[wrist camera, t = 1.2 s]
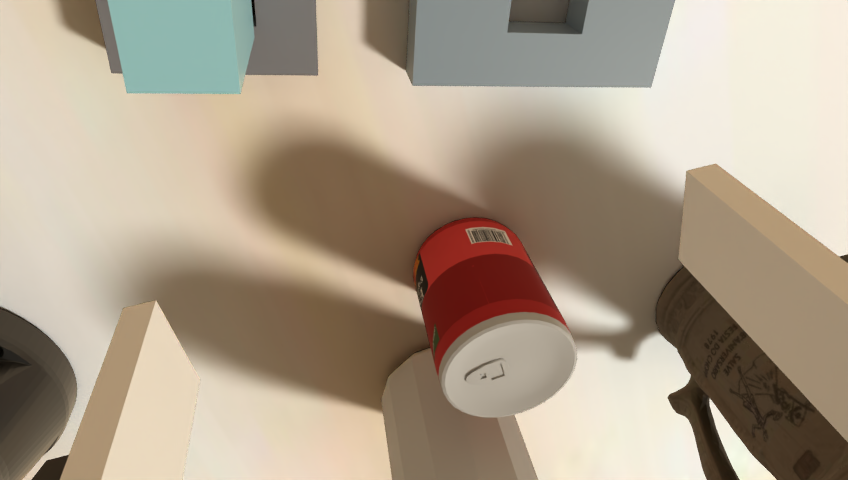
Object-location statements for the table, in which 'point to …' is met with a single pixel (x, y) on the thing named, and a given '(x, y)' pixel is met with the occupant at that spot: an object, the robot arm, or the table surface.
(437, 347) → the canned food
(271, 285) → the table surface
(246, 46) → the plug
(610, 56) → the port panel
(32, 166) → the table surface
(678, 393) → the beer stein
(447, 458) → the jar
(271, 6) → the hollow square frame
